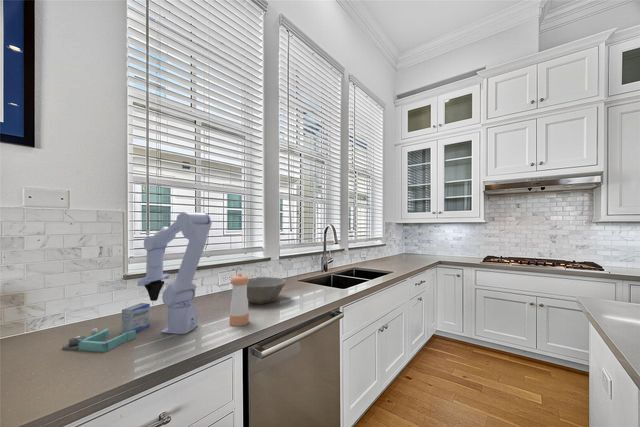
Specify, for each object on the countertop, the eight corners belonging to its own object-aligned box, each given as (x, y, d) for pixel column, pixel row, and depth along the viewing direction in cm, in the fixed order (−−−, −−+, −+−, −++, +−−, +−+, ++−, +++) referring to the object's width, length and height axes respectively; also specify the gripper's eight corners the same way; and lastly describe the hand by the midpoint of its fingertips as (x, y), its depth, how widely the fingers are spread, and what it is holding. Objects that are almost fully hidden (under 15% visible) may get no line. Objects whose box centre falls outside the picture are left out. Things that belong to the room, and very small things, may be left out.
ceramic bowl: (229, 303, 132) (230, 282, 133) (264, 293, 151) (264, 275, 151) (261, 311, 120) (261, 289, 120) (294, 299, 138) (294, 280, 139)
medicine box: (131, 334, 94) (132, 309, 95) (120, 333, 95) (121, 308, 96) (149, 326, 102) (150, 303, 102) (139, 325, 103) (140, 302, 103)
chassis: (136, 337, 92) (137, 328, 92) (106, 353, 81) (107, 342, 81) (96, 334, 94) (97, 325, 94) (62, 349, 83) (62, 338, 83)
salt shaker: (252, 322, 107) (253, 273, 107) (235, 327, 101) (236, 276, 102) (242, 318, 112) (243, 271, 112) (225, 322, 106) (226, 273, 107)
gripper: (159, 262, 116) (158, 294, 115) (130, 268, 101) (129, 305, 101) (174, 263, 115) (173, 295, 114) (147, 269, 100) (146, 306, 100)
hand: (153, 300), depth 107 cm, fingers closed
